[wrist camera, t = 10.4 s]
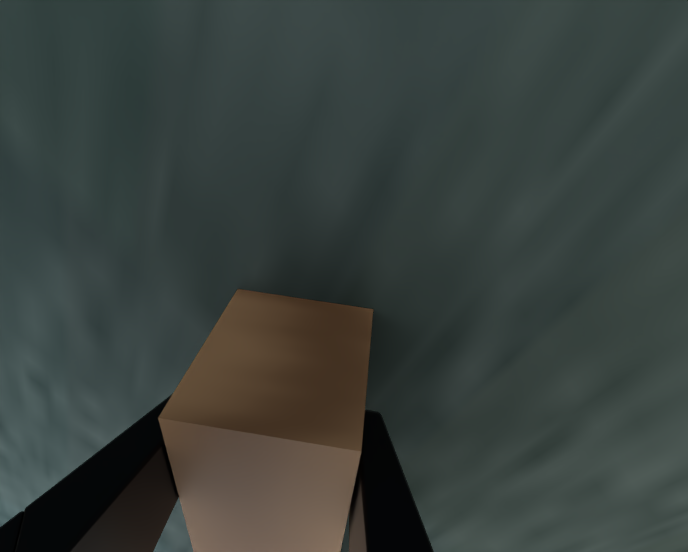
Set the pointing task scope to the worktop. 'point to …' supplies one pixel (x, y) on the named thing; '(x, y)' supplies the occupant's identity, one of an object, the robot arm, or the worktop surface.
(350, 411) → the walnut bar
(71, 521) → the robot arm
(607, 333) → the worktop surface
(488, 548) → the worktop surface
